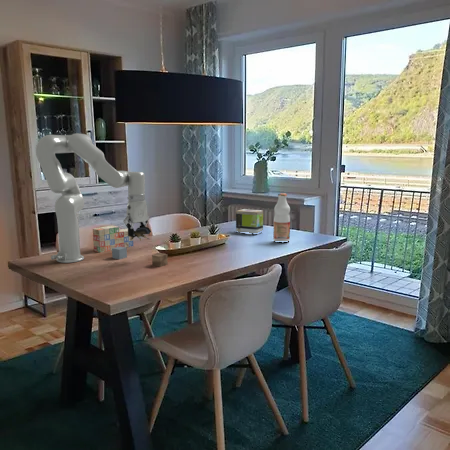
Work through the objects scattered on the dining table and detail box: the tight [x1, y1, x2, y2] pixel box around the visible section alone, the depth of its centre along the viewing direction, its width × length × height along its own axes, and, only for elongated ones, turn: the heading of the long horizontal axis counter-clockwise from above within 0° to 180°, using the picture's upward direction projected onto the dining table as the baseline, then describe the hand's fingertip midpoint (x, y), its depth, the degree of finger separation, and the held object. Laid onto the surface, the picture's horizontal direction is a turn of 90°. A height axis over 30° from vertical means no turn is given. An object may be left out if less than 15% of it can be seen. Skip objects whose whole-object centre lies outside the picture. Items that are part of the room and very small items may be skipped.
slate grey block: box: [111, 247, 128, 260], centre depth 219 cm, size 5×5×5 cm
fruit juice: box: [272, 193, 291, 242], centre depth 254 cm, size 9×9×28 cm
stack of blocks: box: [92, 225, 134, 253], centre depth 239 cm, size 21×6×12 cm, turn 139°
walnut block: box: [151, 252, 169, 268], centre depth 206 cm, size 5×5×5 cm
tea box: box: [235, 208, 264, 233], centre depth 282 cm, size 15×10×15 cm, turn 60°
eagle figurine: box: [131, 226, 152, 241], centre depth 212 cm, size 8×7×9 cm
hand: (136, 235), depth 211 cm, fingers closed on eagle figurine, 7 cm apart
